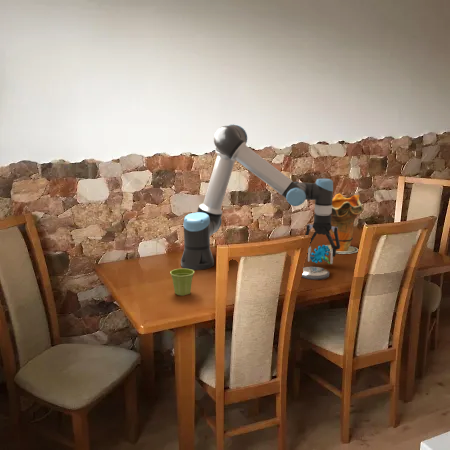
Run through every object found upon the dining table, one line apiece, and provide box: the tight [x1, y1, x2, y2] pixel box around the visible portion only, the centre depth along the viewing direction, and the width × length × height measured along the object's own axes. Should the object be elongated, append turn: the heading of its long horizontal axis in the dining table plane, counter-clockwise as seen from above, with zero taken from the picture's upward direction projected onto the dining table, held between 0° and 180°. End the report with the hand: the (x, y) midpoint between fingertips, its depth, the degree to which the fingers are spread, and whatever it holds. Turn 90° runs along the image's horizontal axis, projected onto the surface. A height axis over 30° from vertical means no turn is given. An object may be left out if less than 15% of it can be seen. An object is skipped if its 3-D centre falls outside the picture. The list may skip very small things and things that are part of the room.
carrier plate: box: [301, 266, 330, 281], centre depth 223 cm, size 13×13×2 cm
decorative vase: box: [324, 193, 365, 255], centre depth 258 cm, size 21×23×28 cm
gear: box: [310, 244, 331, 265], centre depth 235 cm, size 11×6×10 cm
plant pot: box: [169, 267, 195, 296], centre depth 202 cm, size 9×9×9 cm
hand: (320, 261), depth 235 cm, fingers closed on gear, 9 cm apart
